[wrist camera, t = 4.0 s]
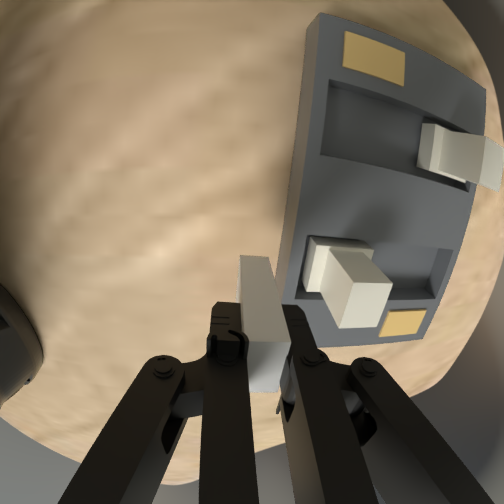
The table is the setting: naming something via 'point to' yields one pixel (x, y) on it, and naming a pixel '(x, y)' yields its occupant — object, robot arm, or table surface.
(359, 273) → the tab
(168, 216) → the table surface
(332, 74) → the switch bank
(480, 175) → the tab
